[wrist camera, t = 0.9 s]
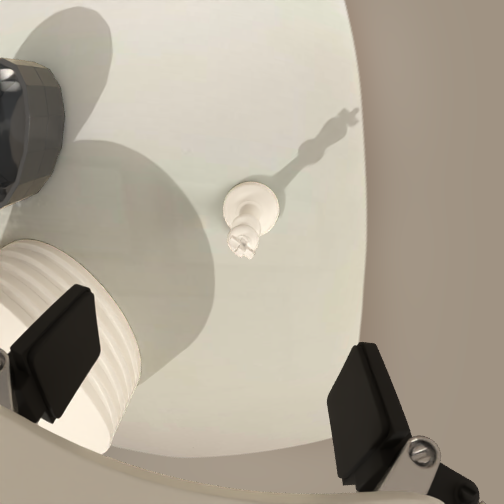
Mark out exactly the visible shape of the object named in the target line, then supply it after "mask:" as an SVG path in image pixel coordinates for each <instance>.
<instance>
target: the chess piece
mask: <svg viewBox="0 0 504 504" xmlns="http://www.w3.org/2000/svg"><path fill="white" fill-rule="evenodd" d="M223 215H224V218H225V221H226V223H227V225H228V226H229V227H230V228H231V231H230V232H229V234H228V237H227V243H228V245H229V247H230V249H231V250H232V251H233V252H235V254H236V255H238V256H239V257H240V258H241V257H242V256H243V255H244V256H246V257H247V258H249V259H251V258H252V257H253V256H254V255H255V250H256V249H257V247H258V245H259V236H261V235H263V234H265V233H267V232H268V231H269V230H271V229H272V227H273V226H274V225H275V223H276V221H277V219H278V215H279V203H278V200H277V197H276V196H275V194H274V193H273V191H272V190H271V189H270V188H268V187H267V186H265V185H263V184H261V183H258V182H244V183H241V184H238V185H236V186H235V187H233V188H232V189H231V190H230V191H229V193H228V194H227V196H226V198H225V200H224V204H223Z"/></svg>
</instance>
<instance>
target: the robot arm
mask: <svg viewBox="0 0 504 504" xmlns="http://www.w3.org/2000/svg"><path fill="white" fill-rule="evenodd" d="M10 350H11V351H10V352H9V353H8V354H7V353H6V352H5V351H4V350H3V349H1V348H0V504H486V503H485V502H484V501H481V502H480V503H479V491H478V488H477V486H476V485H475V483H473V482H472V481H471V480H469V479H467V478H465V477H464V476H462V475H460V474H459V473H457V472H455V471H453V470H452V469H450V468H448V467H447V466H445V465H443V464H442V463H440V461H441V452H440V449H439V447H438V445H437V444H436V443H435V442H434V441H433V440H431V439H430V438H428V437H425V436H414V437H412V435H411V433H410V429H409V426H408V423H407V421H406V418H405V415H404V412H403V410H402V407H401V404H400V402H399V399H398V397H397V394H396V392H395V389H394V387H393V384H392V382H391V379H390V376H389V374H388V372H387V369H386V367H385V364H384V362H383V360H382V357H381V355H380V353H379V350H378V348H377V346H376V344H374V343H366V342H359V343H358V345H357V346H356V345H355V346H353V348H352V349H351V351H350V354H349V356H348V358H347V360H346V362H345V364H344V366H343V368H342V370H341V372H340V374H339V376H338V378H337V380H336V381H335V383H334V385H333V387H332V389H331V391H330V393H329V395H328V398H327V406H328V412H329V419H330V425H331V432H332V438H333V445H334V451H335V459H336V465H337V474H338V477H339V478H342V481H343V485H356V490H357V491H356V493H338V494H291V493H272V492H259V491H250V490H241V489H234V488H227V487H220V486H214V485H208V484H203V483H198V482H193V481H188V480H184V479H179V478H175V477H171V476H167V475H163V474H160V473H156V472H152V471H149V470H146V469H142V468H139V467H136V466H133V465H129V464H127V463H124V462H121V461H118V460H115V459H112V458H110V457H107V456H104V455H102V454H99V453H97V452H94V451H92V450H89V449H87V448H85V447H82V446H80V445H78V444H76V443H73V442H71V441H69V440H67V439H65V438H63V437H61V436H59V435H57V434H54V433H52V432H50V431H48V430H46V429H44V428H42V427H41V426H39V425H38V422H39V420H40V419H43V420H45V421H47V422H49V423H51V424H53V423H54V422H55V420H56V418H57V419H59V418H61V416H62V415H63V413H64V411H65V410H66V408H67V406H68V405H69V403H70V402H71V400H72V398H73V397H74V395H75V393H76V392H77V390H78V389H79V387H80V385H81V384H82V382H83V381H84V379H85V378H86V376H87V374H88V373H89V371H90V370H91V368H92V367H93V365H94V364H95V362H96V361H97V359H98V358H99V356H100V352H101V347H100V340H99V333H98V325H97V317H96V308H95V298H94V294H93V293H92V292H91V290H90V288H89V287H85V286H82V285H79V284H74V285H73V286H72V287H71V288H70V289H68V290H67V291H66V292H65V293H64V294H63V295H62V296H61V297H60V298H59V299H58V300H57V301H56V302H54V303H53V304H52V305H51V306H50V307H49V308H48V309H47V310H46V311H45V312H44V313H43V314H42V315H41V316H40V317H39V318H38V319H37V320H36V321H35V322H34V323H33V324H32V325H31V326H30V327H29V328H28V329H27V330H26V331H25V332H24V333H23V334H22V335H21V336H20V337H19V338H18V339H17V340H16V341H15V342H14V343H13V344H12V346H11V347H10Z"/></svg>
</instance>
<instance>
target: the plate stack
mask: <svg viewBox="0 0 504 504" xmlns="http://www.w3.org/2000/svg"><path fill="white" fill-rule="evenodd" d="M74 284H79V285H82V286H85V287H89V288H90V290H91V292H92V293H93V294H94V298H95V308H96V317H97V325H98V333H99V340H100V347H101V352H100V356H99V358H98V359H97V361H96V362H95V364H94V365H93V367H92V368H91V370H90V371H89V373H88V374H87V376H86V378H85V379H84V381H83V382H82V384H81V385H80V387H79V389H78V390H77V392H76V393H75V395H74V397H73V398H72V400H71V402H70V403H69V405H68V406H67V408H66V410H65V411H64V413H63V415H62V416H61V418H59V419H57V418H56V420H55V422H54V423H53V424H51V423H49V422H47V421H45V420H43V419H40V420H39V422H38V425H39V426H41V427H42V428H44V429H46V430H48V431H50V432H52V433H54V434H57V435H59V436H61V437H63V438H65V439H67V440H69V441H71V442H73V443H76V444H78V445H80V446H82V447H85V448H87V449H89V450H92V451H94V452H97V453H99V454H103V453H104V452H106V451H107V450H108V449H109V447H110V444H111V442H112V440H113V436H114V434H115V433H116V431H117V428H118V426H119V424H120V420H121V419H122V417H123V415H124V413H125V410H126V408H127V405H128V404H129V402H130V400H131V397H132V395H133V392H134V391H135V389H136V387H137V384H138V382H139V379H140V375H141V357H140V352H139V348H138V345H137V342H136V339H135V336H134V334H133V332H132V330H131V327H130V326H129V324H128V322H127V320H126V318H125V316H124V315H123V313H122V312H121V310H120V308H119V307H118V305H117V304H116V303H115V301H114V300H113V298H112V297H111V296H110V295H109V293H108V292H107V291H106V290H105V288H104V287H103V286H102V285H101V284H100V283H99V282H98V281H97V280H96V279H95V278H94V277H93V276H92V275H91V274H90V273H89V272H88V271H87V270H86V269H85V268H84V267H83V266H82V265H80V264H79V263H78V262H77V261H75V260H74V259H73V258H71V257H70V256H69V255H67V254H66V253H64V252H62V251H61V250H59V249H57V248H55V247H53V246H51V245H49V244H46V243H43V242H40V241H36V240H29V239H24V240H17V241H14V242H12V243H10V244H8V245H6V246H5V247H3V248H2V249H0V348H1V349H3V350H4V351H5V352H6V353H7V354H8V353H9V352H10V351H11V350H10V347H11V346H12V344H13V343H14V342H15V341H16V340H17V339H18V338H19V337H20V336H21V335H22V334H23V333H24V332H25V331H26V330H27V329H28V328H29V327H30V326H31V325H32V324H33V323H34V322H35V321H36V320H37V319H38V318H39V317H40V316H41V315H42V314H43V313H44V312H45V311H46V310H47V309H48V308H49V307H50V306H51V305H52V304H53V303H54V302H56V301H57V300H58V299H59V298H60V297H61V296H62V295H63V294H64V293H65V292H66V291H67V290H68V289H70V288H71V287H72V286H73V285H74Z"/></svg>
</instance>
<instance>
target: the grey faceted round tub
mask: <svg viewBox="0 0 504 504" xmlns="http://www.w3.org/2000/svg"><path fill="white" fill-rule="evenodd" d="M64 120H65V113H64V107H63V100H62V94H61V87H60V86H59V84H58V82H57V81H56V79H55V77H54V76H53V74H52V72H51V71H50V69H48V68H46V67H44V66H42V65H40V64H38V63H36V62H32V61H25V60H17V59H9V58H0V210H1V209H3V208H5V207H7V206H10V205H12V204H15V203H17V202H19V201H22V200H24V199H26V198H28V197H30V196H32V195H34V194H36V193H38V192H39V190H40V189H41V188H42V186H43V185H44V184H45V182H46V181H47V180H48V179H49V177H50V176H51V175H52V172H53V169H54V166H55V164H56V161H57V158H58V155H59V153H60V150H61V147H62V138H63V128H64Z"/></svg>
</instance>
